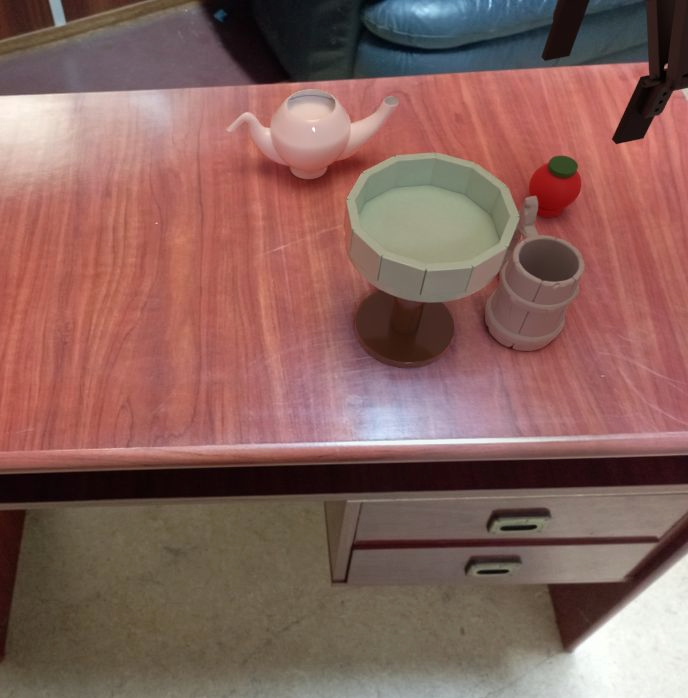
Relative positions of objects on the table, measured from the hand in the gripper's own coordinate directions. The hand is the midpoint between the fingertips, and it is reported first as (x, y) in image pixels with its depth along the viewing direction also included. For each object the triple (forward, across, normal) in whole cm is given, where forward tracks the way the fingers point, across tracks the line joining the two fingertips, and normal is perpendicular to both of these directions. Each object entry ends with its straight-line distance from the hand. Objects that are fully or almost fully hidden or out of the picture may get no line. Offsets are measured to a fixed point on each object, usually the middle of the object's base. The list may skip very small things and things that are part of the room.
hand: (589, 95), depth 70 cm
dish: (+16, +11, -21) cm, 29 cm away
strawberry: (+16, -1, +1) cm, 16 cm away
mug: (+16, +12, -9) cm, 22 cm away
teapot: (+16, -16, -23) cm, 32 cm away
